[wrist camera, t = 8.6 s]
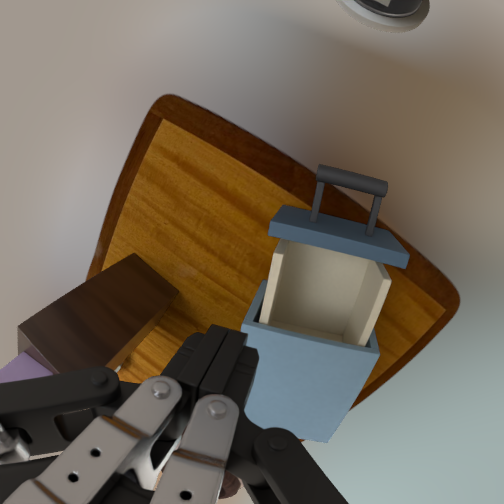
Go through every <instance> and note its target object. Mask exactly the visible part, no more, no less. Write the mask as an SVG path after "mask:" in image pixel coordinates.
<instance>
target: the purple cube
mask: <svg viewBox="0 0 504 504" xmlns="http://www.w3.org/2000/svg"><path fill="white" fill-rule="evenodd" d="M49 375H53V373H52V372H51V371H50V370H48V369H47V368H45V367H44V366H43V365H41V364H40V363H38V362H37V361H36V360H34V359H33V358H32V357H30V356H29V355H28V354H27V353H25V352H24V351H23V352H22V353H21V354H19V355H18V356H17V357H16V358H14V359H13V360H12V361H11V362H9V363H8V364H7V365H6V366H5V367H3V368H2V369H1V370H0V383H4V382H12V381H19V380H25V379H32V378H38V377H44V376H49Z"/></svg>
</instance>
